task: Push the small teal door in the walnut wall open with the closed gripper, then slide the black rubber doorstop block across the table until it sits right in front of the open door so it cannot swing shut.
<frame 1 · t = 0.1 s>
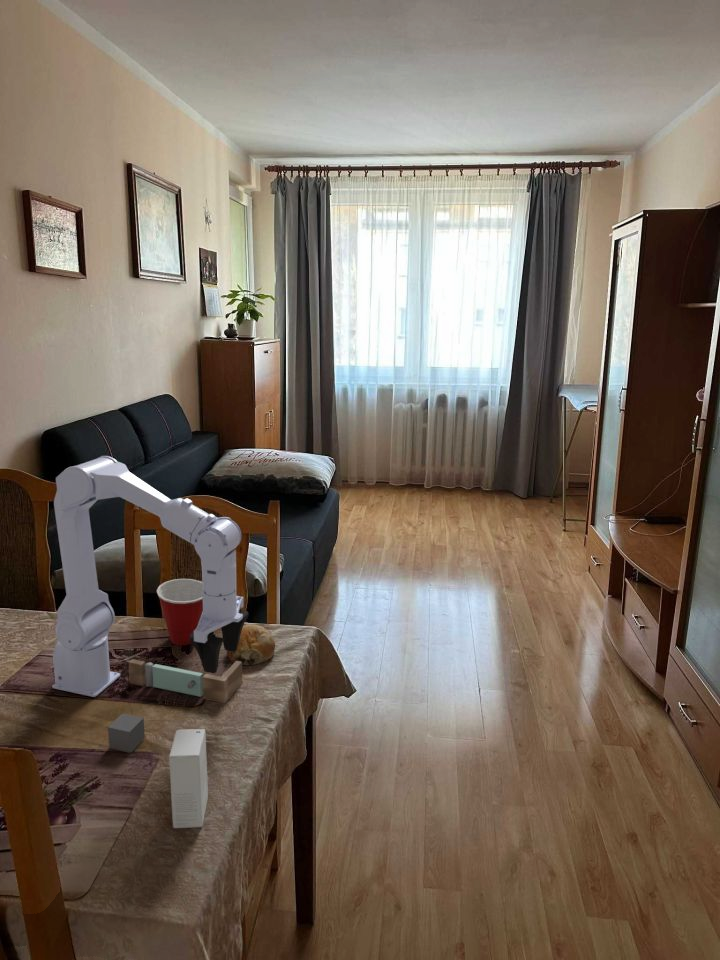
hand: (220, 660, 118), 10 cm above the table, tool pointing down, fingers open, 7 cm apart
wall: (173, 690, 126), on the table
skincare box: (190, 814, 97), on the table
bread roll: (250, 655, 140), on the table
plastic cup: (185, 640, 145), on the table
doorstop: (127, 743, 111), on the table
door: (172, 680, 125), point 2 cm above the table, hinge at 0.0°
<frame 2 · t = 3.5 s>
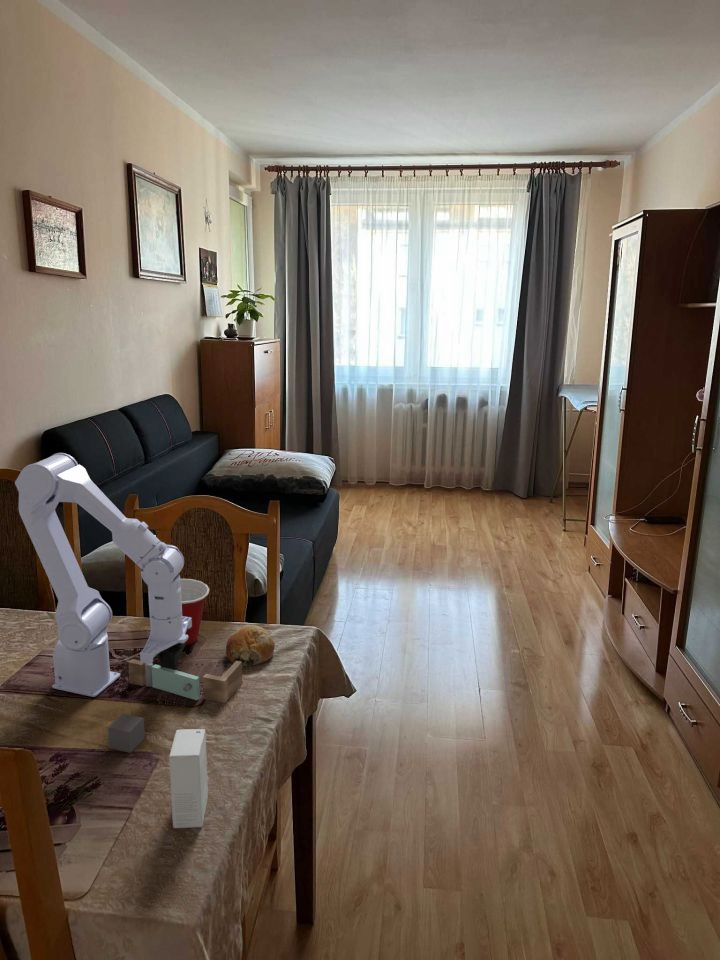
hand: (169, 678, 126), 2 cm above the table, tool pointing down, fingers closed, pressing on door
door: (170, 682, 125), point 2 cm above the table, hinge at 6.8°, touching gripper
everything else where it was.
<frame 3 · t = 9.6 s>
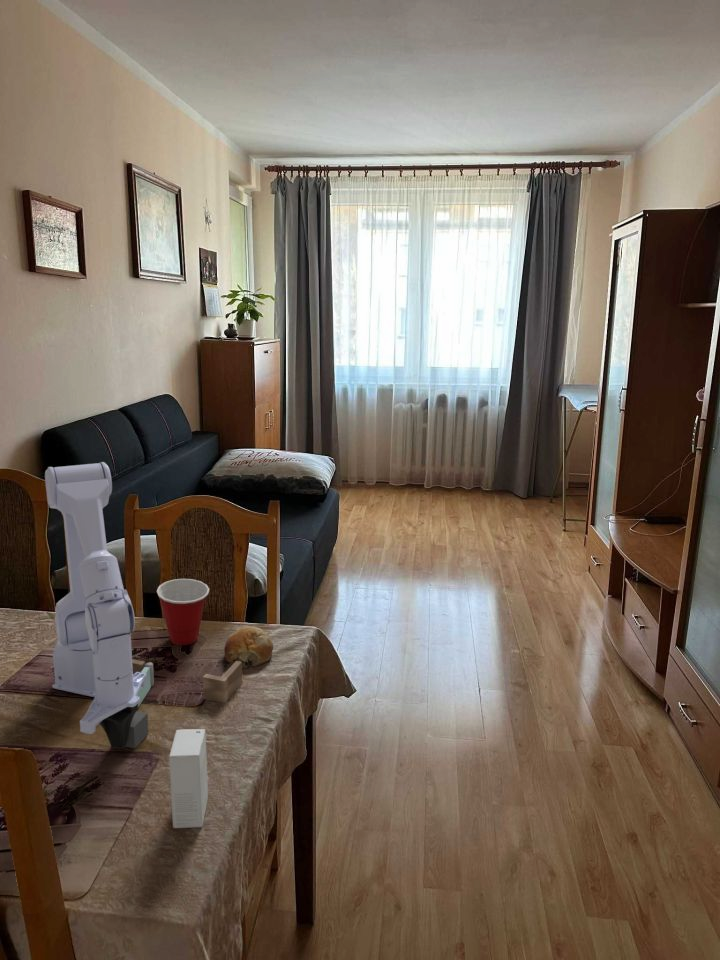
hand: (118, 745, 109), 1 cm above the table, tool pointing down, fingers closed
doorstop: (131, 738, 112), on the table, touching gripper
door: (136, 689, 122), point 2 cm above the table, hinge at 77.0°
everything else where it was.
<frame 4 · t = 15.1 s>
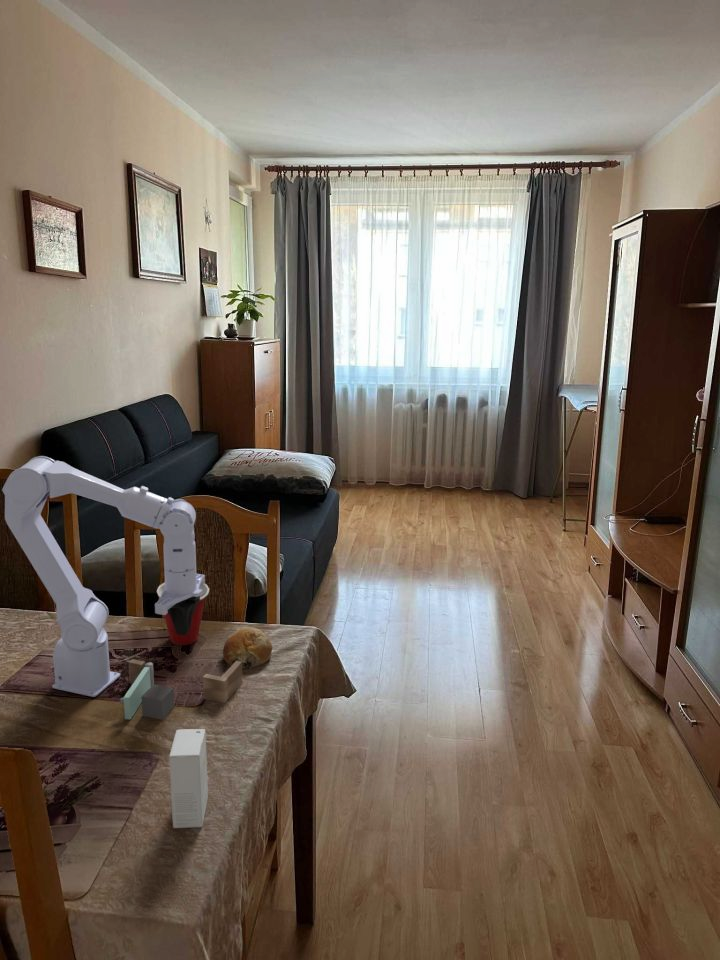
hand: (182, 633, 127), 10 cm above the table, tool pointing down, fingers closed
doorstop: (158, 711, 120), on the table
at the end: door at +77° (first picture: +0°); doorstop inside the target area (0.2 cm from its centre), on the table; doorstop tilted 0° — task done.
